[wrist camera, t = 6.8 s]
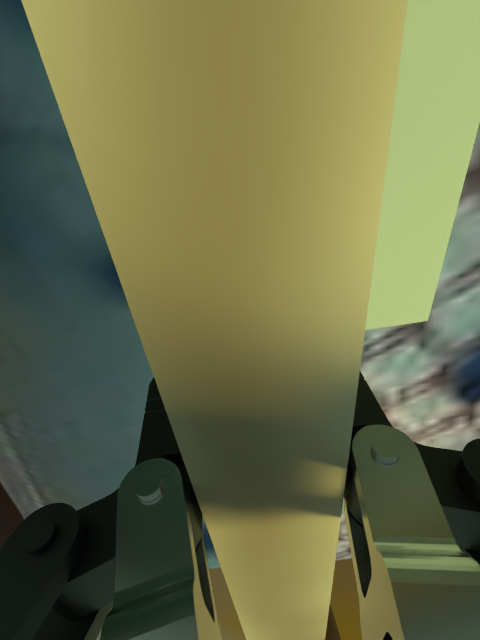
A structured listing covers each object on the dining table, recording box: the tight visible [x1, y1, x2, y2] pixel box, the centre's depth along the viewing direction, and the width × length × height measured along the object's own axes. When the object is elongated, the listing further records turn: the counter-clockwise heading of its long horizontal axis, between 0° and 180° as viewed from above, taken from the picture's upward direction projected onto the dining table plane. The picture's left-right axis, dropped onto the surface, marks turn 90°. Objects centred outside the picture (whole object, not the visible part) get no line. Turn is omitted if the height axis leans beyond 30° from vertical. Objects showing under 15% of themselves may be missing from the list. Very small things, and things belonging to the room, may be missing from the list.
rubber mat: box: [365, 0, 480, 330], centre depth 27 cm, size 12×30×1 cm, turn 6°
